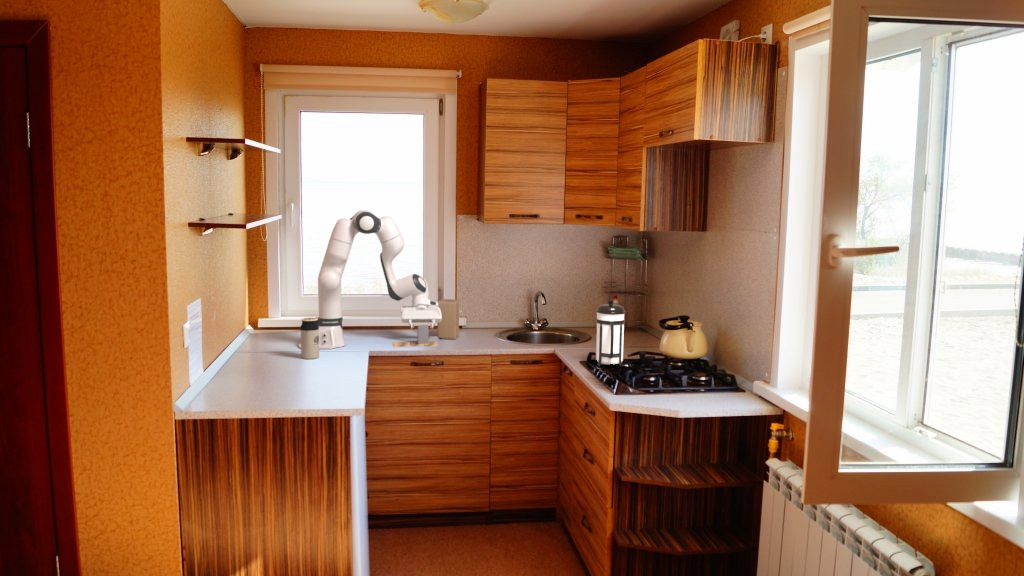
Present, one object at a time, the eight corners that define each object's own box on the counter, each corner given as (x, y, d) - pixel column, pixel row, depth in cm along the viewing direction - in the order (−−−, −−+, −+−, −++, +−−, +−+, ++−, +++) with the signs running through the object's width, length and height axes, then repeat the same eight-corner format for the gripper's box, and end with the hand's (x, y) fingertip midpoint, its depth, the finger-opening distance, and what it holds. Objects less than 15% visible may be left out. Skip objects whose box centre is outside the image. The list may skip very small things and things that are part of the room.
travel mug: (297, 357, 349) (296, 319, 347) (311, 355, 355) (310, 316, 353) (309, 360, 344) (308, 320, 342) (322, 357, 351) (322, 318, 349)
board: (393, 349, 370) (392, 346, 369) (392, 345, 381) (392, 342, 381) (438, 348, 374) (438, 345, 374) (436, 344, 386) (436, 341, 385)
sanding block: (418, 344, 375) (418, 326, 374) (417, 342, 380) (417, 325, 379) (428, 344, 376) (428, 326, 375) (427, 342, 381) (427, 324, 380)
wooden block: (459, 336, 408) (459, 299, 406) (455, 339, 398) (456, 301, 396) (440, 335, 409) (440, 298, 407) (437, 339, 399) (437, 301, 397)
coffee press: (583, 364, 342) (585, 298, 338) (609, 360, 351) (611, 295, 348) (611, 371, 328) (613, 302, 325) (637, 367, 338) (639, 300, 334)
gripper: (400, 302, 384) (401, 324, 375) (441, 302, 388) (442, 324, 379) (400, 310, 389) (400, 332, 380) (440, 309, 392) (441, 331, 384)
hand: (422, 328), depth 380 cm, fingers open, 8 cm apart
